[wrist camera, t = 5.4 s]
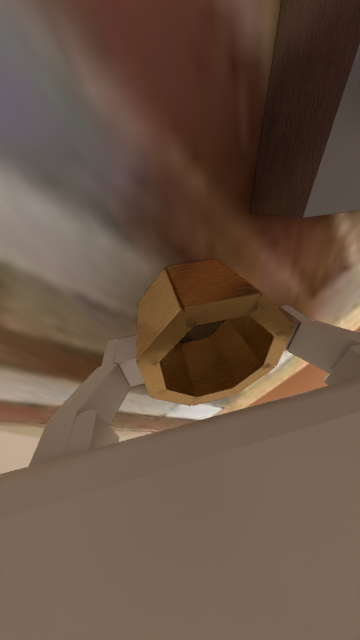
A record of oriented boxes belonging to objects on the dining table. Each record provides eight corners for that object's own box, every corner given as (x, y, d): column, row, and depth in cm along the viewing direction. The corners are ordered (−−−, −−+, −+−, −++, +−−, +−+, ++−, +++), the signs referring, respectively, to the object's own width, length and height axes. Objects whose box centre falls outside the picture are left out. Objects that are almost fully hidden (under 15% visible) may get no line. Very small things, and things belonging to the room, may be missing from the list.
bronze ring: (152, 357, 12) (157, 414, 8) (127, 271, 8) (118, 319, 5) (234, 339, 12) (267, 386, 9) (249, 253, 8) (314, 283, 5)
